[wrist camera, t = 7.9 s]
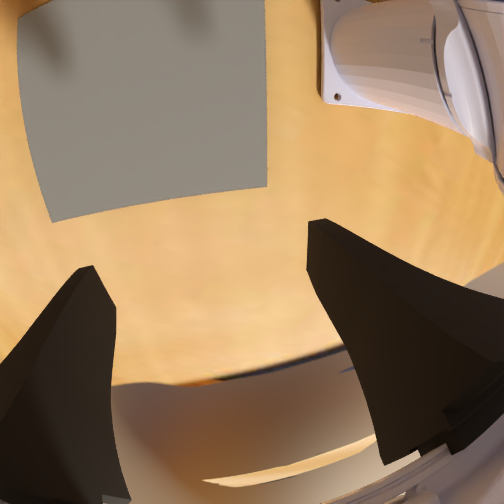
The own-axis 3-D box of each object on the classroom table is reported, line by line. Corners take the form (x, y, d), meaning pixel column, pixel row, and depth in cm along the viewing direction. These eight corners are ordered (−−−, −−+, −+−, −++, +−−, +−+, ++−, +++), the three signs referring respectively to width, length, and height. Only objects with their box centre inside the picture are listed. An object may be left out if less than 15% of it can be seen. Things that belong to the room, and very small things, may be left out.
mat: (261, -35, 9) (263, -37, 8) (265, 184, 18) (267, 186, 17) (20, 18, 6) (17, 18, 6) (54, 219, 15) (52, 222, 15)
